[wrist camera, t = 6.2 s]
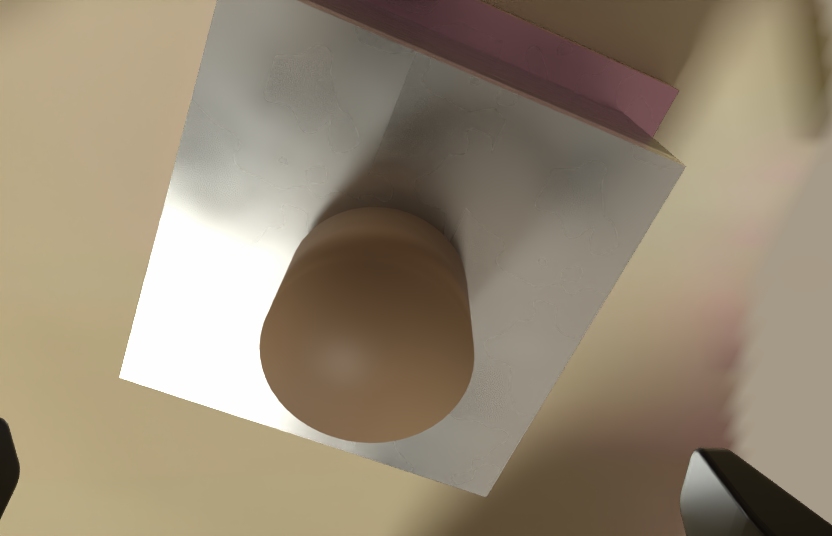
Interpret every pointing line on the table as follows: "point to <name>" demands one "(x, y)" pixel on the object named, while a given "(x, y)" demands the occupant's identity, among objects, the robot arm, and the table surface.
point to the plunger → (370, 328)
